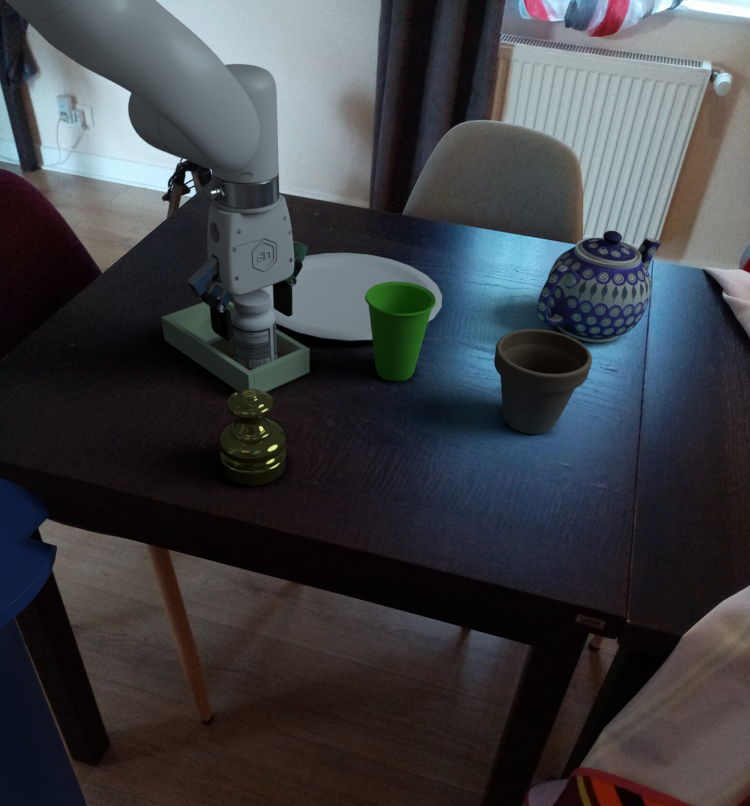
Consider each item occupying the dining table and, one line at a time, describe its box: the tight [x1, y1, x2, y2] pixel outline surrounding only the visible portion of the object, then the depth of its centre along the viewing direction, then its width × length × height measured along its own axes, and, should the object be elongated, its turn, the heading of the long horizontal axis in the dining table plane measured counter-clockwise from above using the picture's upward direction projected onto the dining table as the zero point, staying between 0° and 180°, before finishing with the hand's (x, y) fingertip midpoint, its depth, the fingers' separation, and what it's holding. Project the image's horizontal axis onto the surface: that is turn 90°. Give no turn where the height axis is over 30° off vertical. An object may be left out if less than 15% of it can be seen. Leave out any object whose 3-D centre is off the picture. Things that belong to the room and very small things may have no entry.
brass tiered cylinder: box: [218, 389, 287, 487], centre depth 86 cm, size 7×8×10 cm
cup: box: [365, 282, 436, 382], centre depth 103 cm, size 9×9×11 cm
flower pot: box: [493, 328, 593, 435], centre depth 96 cm, size 12×11×10 cm
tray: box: [160, 296, 311, 393], centre depth 106 cm, size 10×19×4 cm, turn 45°
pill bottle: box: [231, 289, 278, 371], centre depth 101 cm, size 6×6×10 cm
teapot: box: [536, 230, 662, 344], centre depth 114 cm, size 25×15×15 cm, turn 125°
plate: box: [261, 252, 443, 343], centre depth 121 cm, size 29×29×2 cm
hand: (253, 323), depth 100 cm, fingers open, 9 cm apart
